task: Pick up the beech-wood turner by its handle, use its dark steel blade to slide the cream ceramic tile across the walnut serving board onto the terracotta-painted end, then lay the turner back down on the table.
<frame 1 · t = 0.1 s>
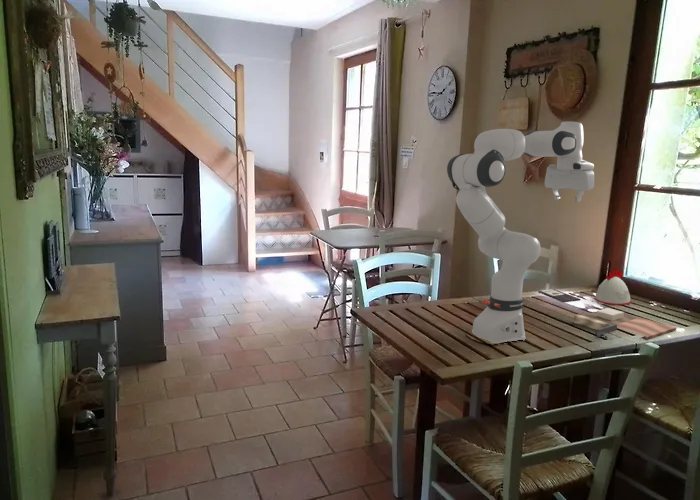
hand: (567, 200, 203), 48 cm above the table, tool pointing down, fingers open, 8 cm apart
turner: (590, 329, 200), on the table
board: (626, 324, 204), on the table
tile: (609, 316, 209), point 1 cm above the table, touching board
kitchen timer: (612, 303, 231), on the table
chocolate bar: (558, 297, 243), on the table
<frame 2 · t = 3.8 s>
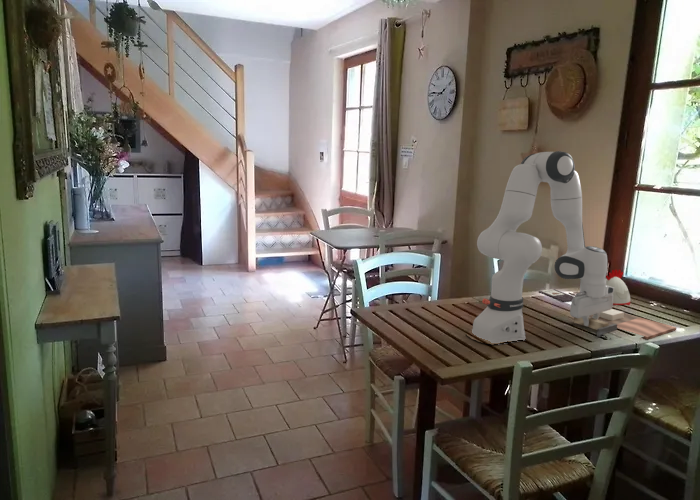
hand: (590, 324, 199), 2 cm above the table, tool pointing down, fingers closed on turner, 2 cm apart
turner: (590, 328, 200), on the table, touching gripper
everything else where it was.
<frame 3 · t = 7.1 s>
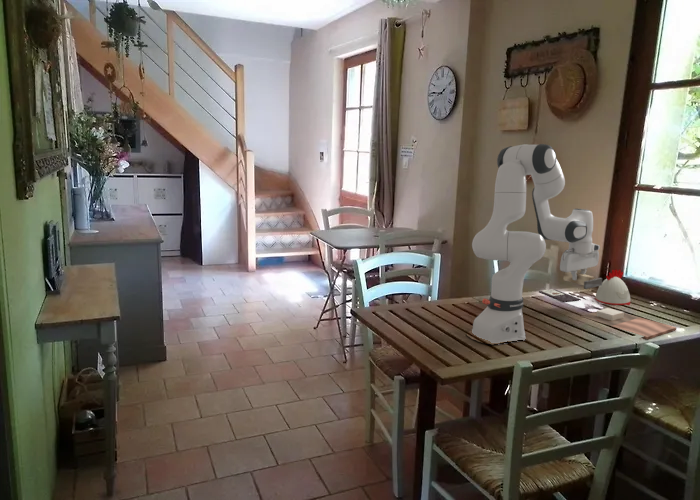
hand: (578, 279, 221), 13 cm above the table, tool pointing down, fingers closed on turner, 2 cm apart
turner: (578, 282, 221), point 12 cm above the table, touching gripper
everything else where it was.
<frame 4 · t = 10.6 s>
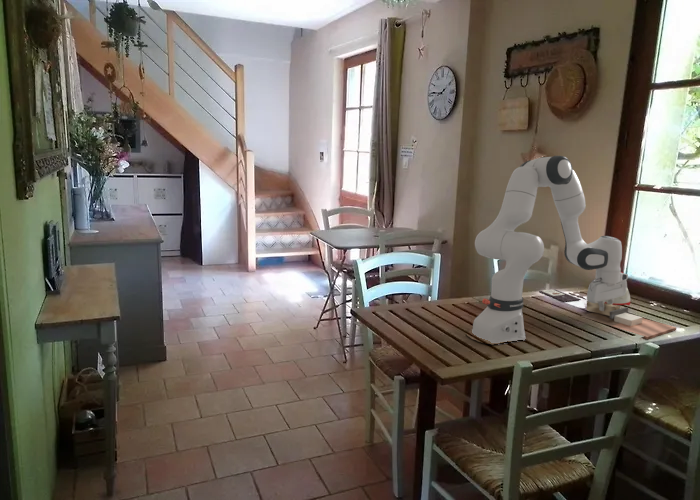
hand: (605, 309, 211), 3 cm above the table, tool pointing down, fingers closed on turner, 2 cm apart
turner: (602, 313, 212), point 2 cm above the table, touching gripper
tile: (628, 321, 203), point 1 cm above the table, touching board
everything else where it was.
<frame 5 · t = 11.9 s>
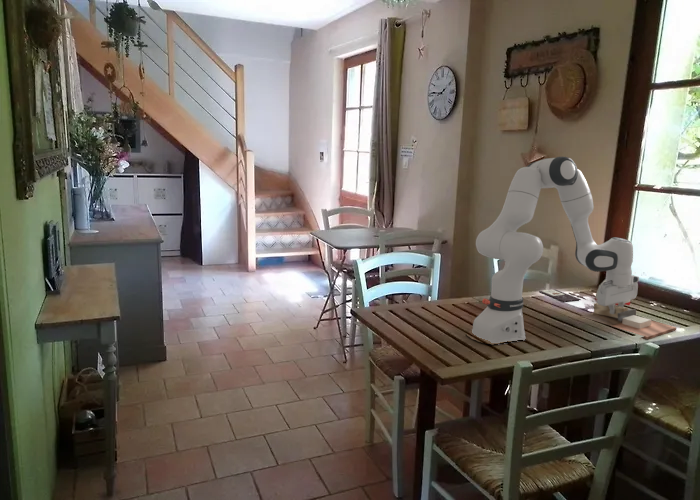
hand: (615, 312, 207), 3 cm above the table, tool pointing down, fingers closed on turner, 2 cm apart
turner: (610, 315, 209), point 2 cm above the table, touching board, gripper, tile
tile: (636, 324, 200), point 1 cm above the table, touching board, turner
everything else where it was.
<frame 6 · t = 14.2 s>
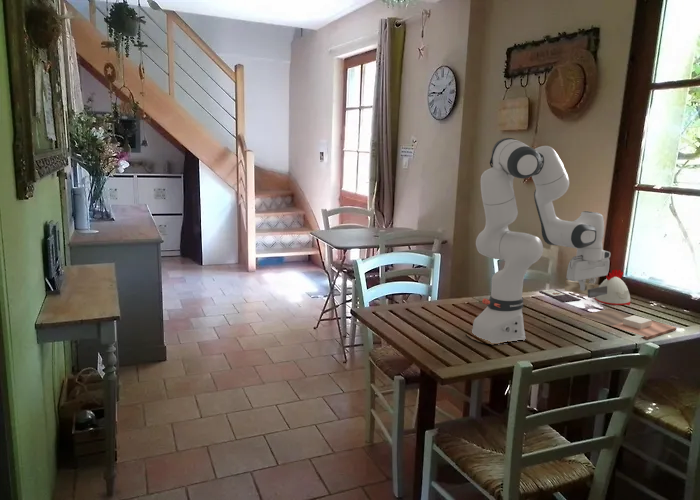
hand: (586, 289, 200), 15 cm above the table, tool pointing down, fingers closed on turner, 2 cm apart
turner: (581, 292, 202), point 13 cm above the table, touching gripper
tile: (637, 324, 200), point 1 cm above the table, touching board
everything else where it was.
when the fingers open (2 cm above the table, at t = 16.8 s): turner stays where it is, on the table.
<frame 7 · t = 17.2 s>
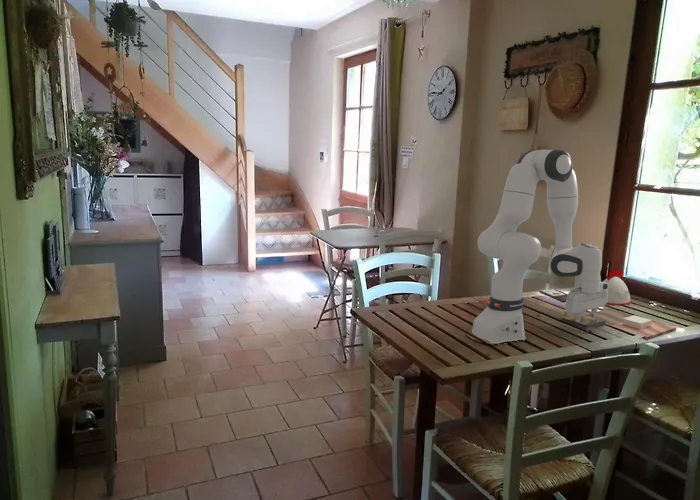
hand: (585, 320, 202), 2 cm above the table, tool pointing down, fingers open, 6 cm apart
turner: (579, 324, 205), on the table
everything else where it was.
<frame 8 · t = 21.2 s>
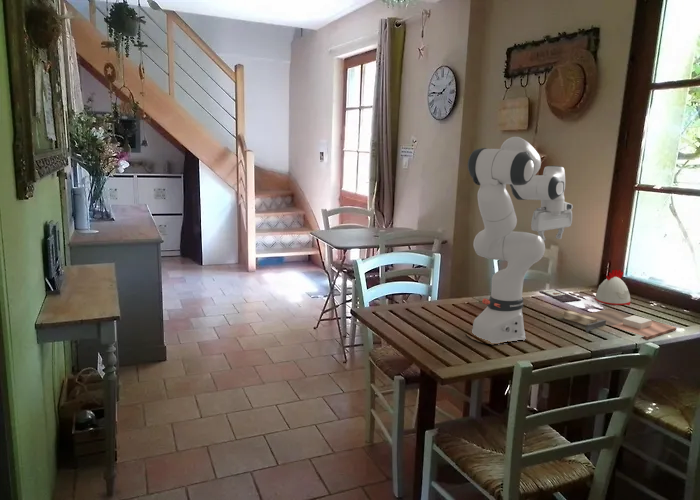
hand: (550, 239, 213), 31 cm above the table, tool pointing down, fingers open, 8 cm apart
nothing on the table moved.
at the end: tile inside the target area on the board (2.9 cm from its centre), point 1.0 cm above the board's base; the gripper is holding nothing; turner touching table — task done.
